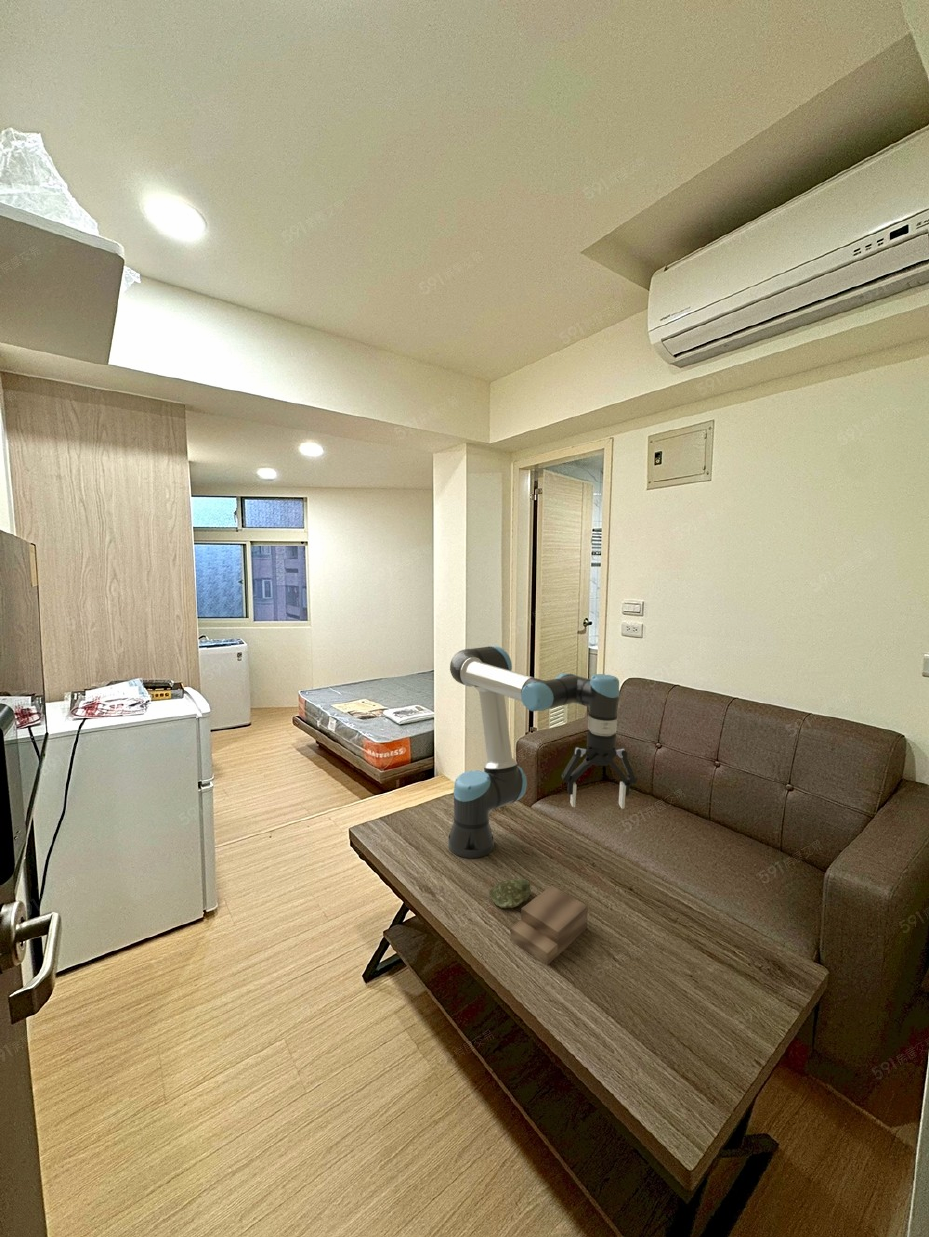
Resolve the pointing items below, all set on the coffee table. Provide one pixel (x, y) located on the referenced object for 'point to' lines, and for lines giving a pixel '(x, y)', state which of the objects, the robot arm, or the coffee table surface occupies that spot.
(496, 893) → the seashell
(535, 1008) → the coffee table surface
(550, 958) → the block
